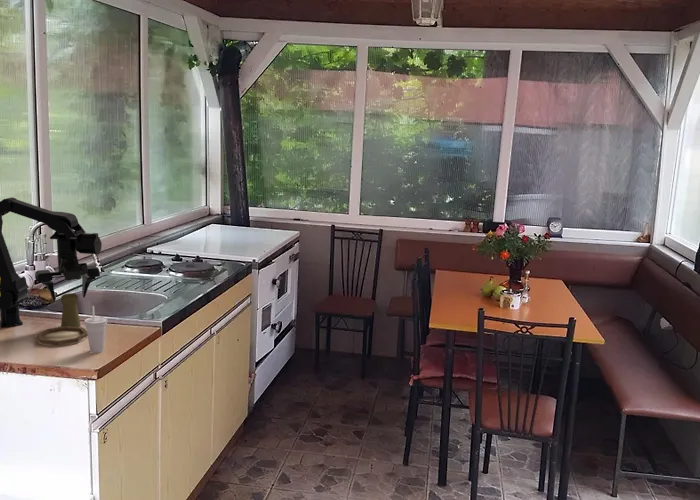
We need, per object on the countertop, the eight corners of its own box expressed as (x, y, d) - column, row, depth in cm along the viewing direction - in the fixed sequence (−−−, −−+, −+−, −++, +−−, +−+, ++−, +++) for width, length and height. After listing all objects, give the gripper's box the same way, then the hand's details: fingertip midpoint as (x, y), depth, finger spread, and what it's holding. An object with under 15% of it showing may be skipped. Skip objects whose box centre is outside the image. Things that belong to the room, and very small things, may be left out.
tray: (33, 335, 203) (33, 330, 202) (80, 328, 211) (80, 323, 210) (43, 349, 192) (43, 344, 191) (92, 341, 200) (91, 336, 200)
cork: (84, 324, 215) (82, 292, 213) (74, 329, 210) (73, 297, 207) (66, 322, 216) (65, 291, 214) (57, 328, 210) (55, 296, 208)
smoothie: (85, 348, 194) (83, 303, 191) (108, 346, 196) (106, 302, 193) (85, 355, 188) (83, 309, 185) (108, 353, 190) (106, 308, 188)
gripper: (41, 260, 196) (43, 309, 199) (104, 255, 207) (105, 301, 210) (33, 253, 205) (36, 300, 208) (94, 248, 216) (95, 293, 219)
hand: (69, 299), depth 211 cm, fingers open, 9 cm apart
